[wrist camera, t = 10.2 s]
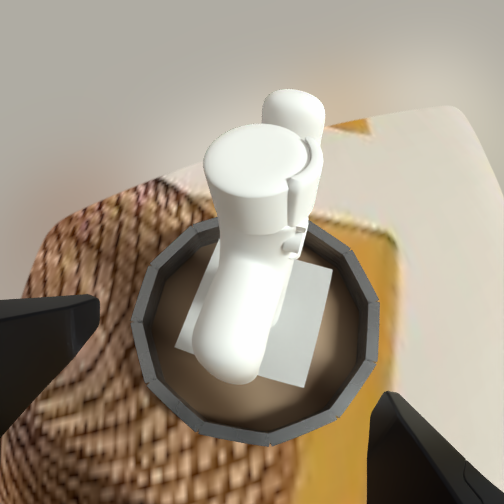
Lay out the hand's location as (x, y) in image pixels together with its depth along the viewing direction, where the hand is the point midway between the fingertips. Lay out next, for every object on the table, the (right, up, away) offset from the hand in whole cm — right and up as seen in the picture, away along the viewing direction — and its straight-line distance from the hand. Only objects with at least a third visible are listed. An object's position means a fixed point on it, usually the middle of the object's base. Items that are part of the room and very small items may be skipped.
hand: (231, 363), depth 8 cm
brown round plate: (+1, -2, +13) cm, 13 cm away
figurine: (+1, -2, +12) cm, 12 cm away
